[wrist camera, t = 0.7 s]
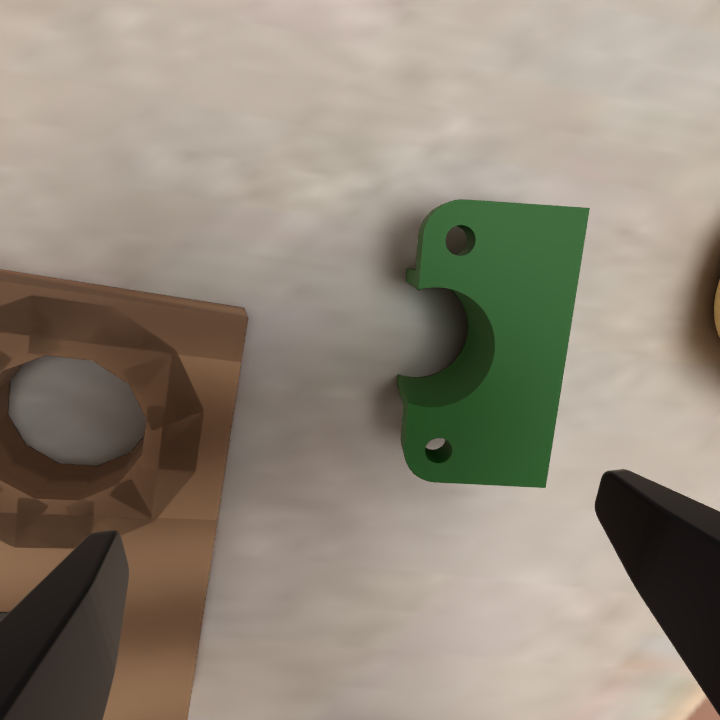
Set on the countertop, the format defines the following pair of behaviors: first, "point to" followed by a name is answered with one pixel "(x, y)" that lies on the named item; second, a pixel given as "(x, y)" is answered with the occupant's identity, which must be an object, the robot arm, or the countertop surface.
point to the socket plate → (126, 468)
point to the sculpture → (717, 309)
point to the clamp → (496, 342)
